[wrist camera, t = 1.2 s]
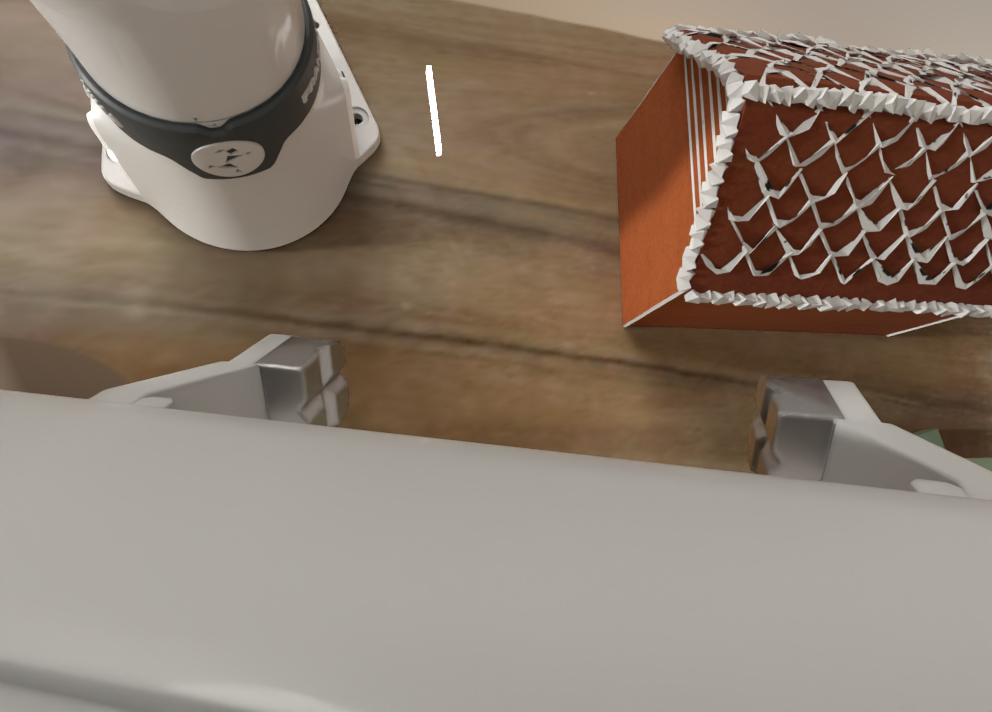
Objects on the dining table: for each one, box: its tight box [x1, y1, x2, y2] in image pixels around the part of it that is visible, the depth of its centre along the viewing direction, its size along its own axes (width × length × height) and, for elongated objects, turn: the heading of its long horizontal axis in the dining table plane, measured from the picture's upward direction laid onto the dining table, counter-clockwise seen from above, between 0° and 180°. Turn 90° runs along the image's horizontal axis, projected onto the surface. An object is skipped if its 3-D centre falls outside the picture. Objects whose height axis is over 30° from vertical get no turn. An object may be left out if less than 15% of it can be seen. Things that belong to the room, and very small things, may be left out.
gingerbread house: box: [616, 24, 992, 337], centre depth 42 cm, size 18×26×20 cm
